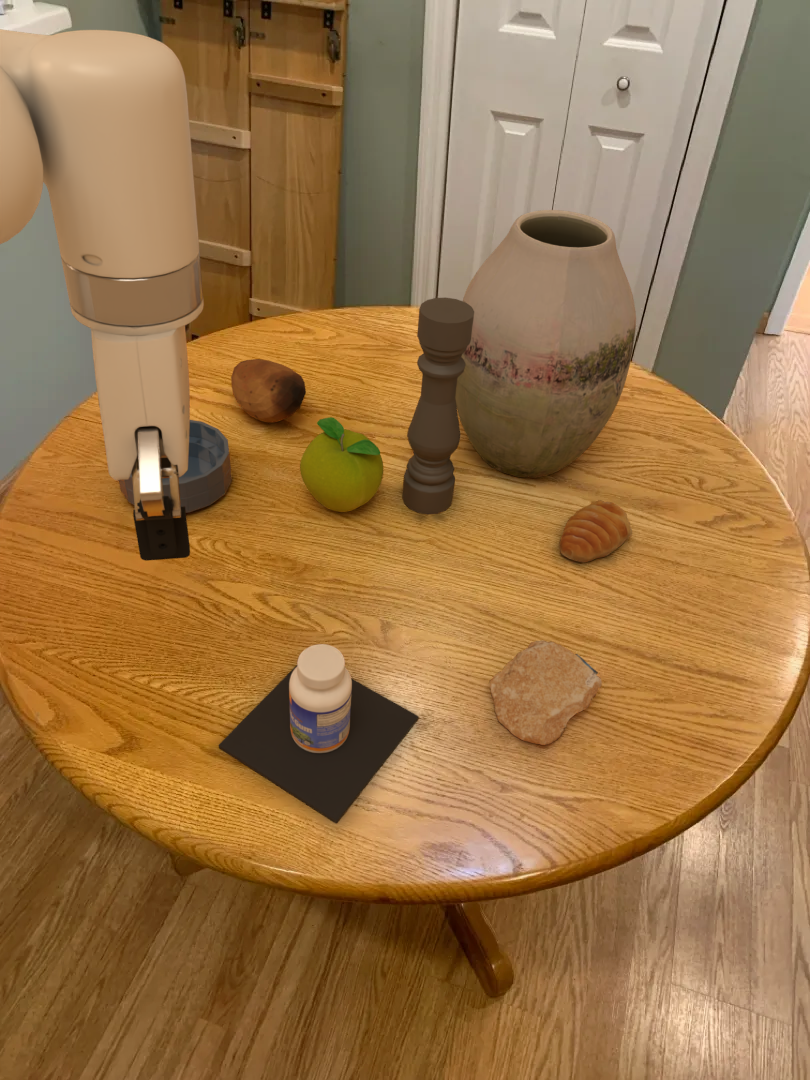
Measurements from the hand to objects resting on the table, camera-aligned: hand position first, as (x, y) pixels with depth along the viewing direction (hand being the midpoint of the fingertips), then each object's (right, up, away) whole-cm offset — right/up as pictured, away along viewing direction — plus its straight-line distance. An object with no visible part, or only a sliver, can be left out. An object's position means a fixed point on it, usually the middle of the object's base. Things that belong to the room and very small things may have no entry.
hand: (166, 510), depth 60 cm
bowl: (-11, +5, +43) cm, 44 cm away
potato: (-2, +15, +55) cm, 57 cm away
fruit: (+9, +2, +42) cm, 43 cm away
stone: (+30, -18, +22) cm, 41 cm away
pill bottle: (+9, -20, +17) cm, 28 cm away
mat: (+9, -20, +17) cm, 28 cm away
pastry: (+39, -2, +40) cm, 56 cm away
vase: (+33, +9, +52) cm, 62 cm away
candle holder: (+20, +3, +44) cm, 48 cm away
